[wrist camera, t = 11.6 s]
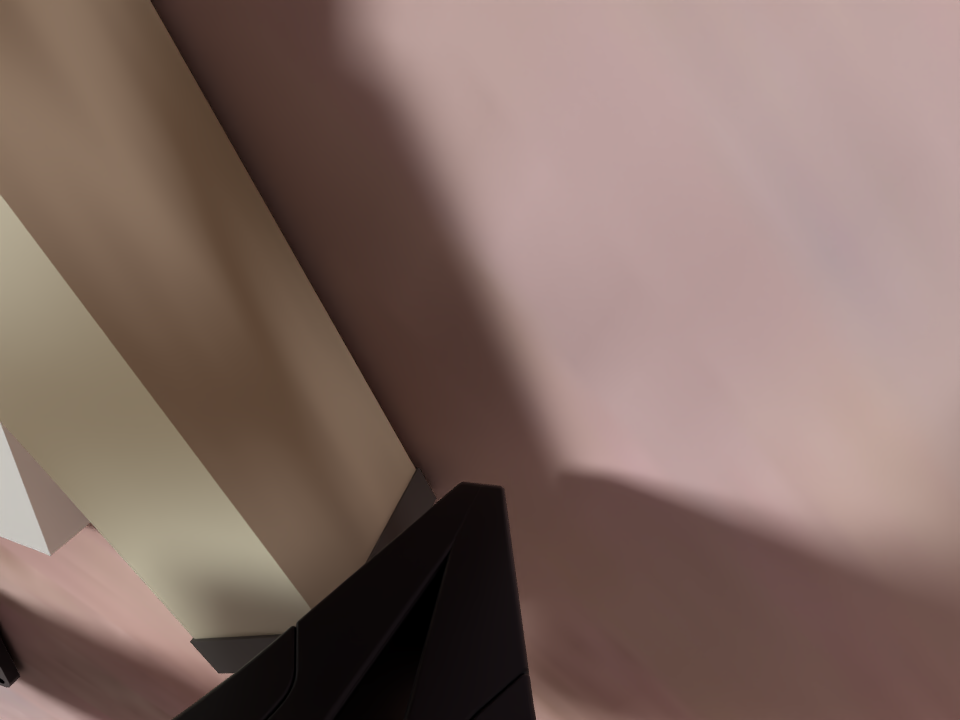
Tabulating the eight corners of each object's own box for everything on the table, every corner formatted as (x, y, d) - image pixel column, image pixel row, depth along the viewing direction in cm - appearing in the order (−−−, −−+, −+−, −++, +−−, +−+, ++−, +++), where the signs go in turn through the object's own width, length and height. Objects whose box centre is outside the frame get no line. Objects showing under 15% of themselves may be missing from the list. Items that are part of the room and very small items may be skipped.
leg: (-144, -182, 7) (-717, -367, 4) (-40, -347, 6) (-724, -769, 3) (326, 516, 12) (218, 673, 9) (436, 498, 11) (356, 671, 8)
